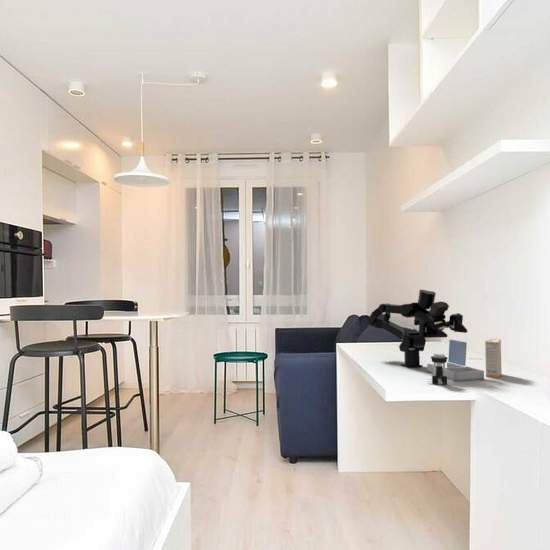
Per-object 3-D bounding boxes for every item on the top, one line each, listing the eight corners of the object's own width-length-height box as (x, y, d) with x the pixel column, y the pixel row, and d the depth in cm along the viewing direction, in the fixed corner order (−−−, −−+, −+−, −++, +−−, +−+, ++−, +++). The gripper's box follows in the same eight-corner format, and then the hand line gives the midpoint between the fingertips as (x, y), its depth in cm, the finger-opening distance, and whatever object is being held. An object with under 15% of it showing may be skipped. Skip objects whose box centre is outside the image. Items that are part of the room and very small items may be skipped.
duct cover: (449, 339, 180) (450, 339, 180) (448, 361, 180) (449, 361, 180) (465, 342, 171) (466, 342, 171) (464, 365, 170) (465, 366, 171)
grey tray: (425, 371, 177) (425, 363, 177) (450, 369, 180) (450, 362, 180) (455, 381, 159) (455, 372, 159) (484, 379, 162) (483, 370, 162)
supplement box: (487, 372, 174) (487, 338, 174) (501, 374, 171) (501, 339, 172) (485, 376, 167) (484, 340, 167) (499, 378, 164) (499, 341, 164)
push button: (427, 384, 154) (427, 355, 154) (426, 381, 159) (426, 352, 159) (448, 385, 152) (448, 355, 153) (446, 382, 158) (446, 353, 158)
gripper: (410, 303, 175) (437, 317, 161) (448, 295, 181) (479, 308, 167) (408, 330, 178) (435, 346, 164) (446, 321, 184) (476, 336, 170)
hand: (457, 333), depth 166 cm, fingers open, 9 cm apart
